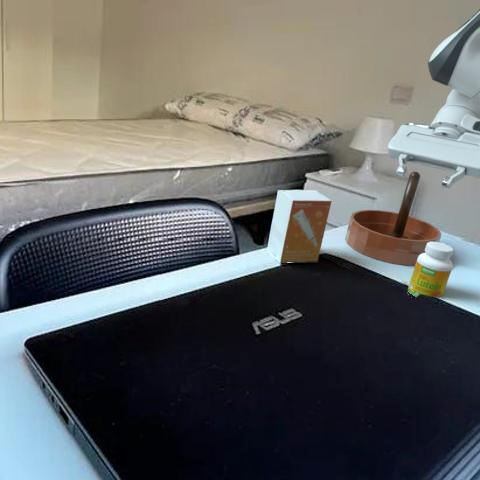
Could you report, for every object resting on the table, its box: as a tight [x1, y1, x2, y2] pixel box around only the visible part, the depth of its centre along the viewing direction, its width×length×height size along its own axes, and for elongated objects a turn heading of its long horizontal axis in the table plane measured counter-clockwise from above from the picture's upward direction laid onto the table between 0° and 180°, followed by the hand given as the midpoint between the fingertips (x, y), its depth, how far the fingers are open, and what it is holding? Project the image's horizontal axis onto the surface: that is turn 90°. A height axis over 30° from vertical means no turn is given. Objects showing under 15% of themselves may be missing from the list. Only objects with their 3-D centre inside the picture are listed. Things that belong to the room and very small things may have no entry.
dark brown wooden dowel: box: [384, 171, 421, 240], centre depth 104 cm, size 5×5×16 cm
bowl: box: [344, 209, 442, 267], centre depth 104 cm, size 17×17×6 cm
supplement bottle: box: [407, 241, 454, 298], centre depth 85 cm, size 5×5×10 cm
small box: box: [266, 189, 332, 264], centre depth 95 cm, size 8×6×13 cm
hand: (421, 180), depth 105 cm, fingers open, 8 cm apart
